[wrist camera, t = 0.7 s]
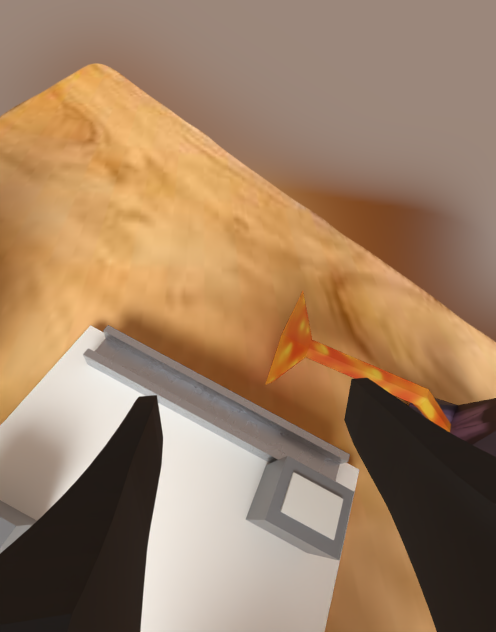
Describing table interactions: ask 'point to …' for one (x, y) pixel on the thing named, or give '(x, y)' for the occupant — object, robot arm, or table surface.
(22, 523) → the block
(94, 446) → the panel
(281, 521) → the mounted module
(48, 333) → the table surface
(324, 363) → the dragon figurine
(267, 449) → the rail
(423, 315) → the table surface
